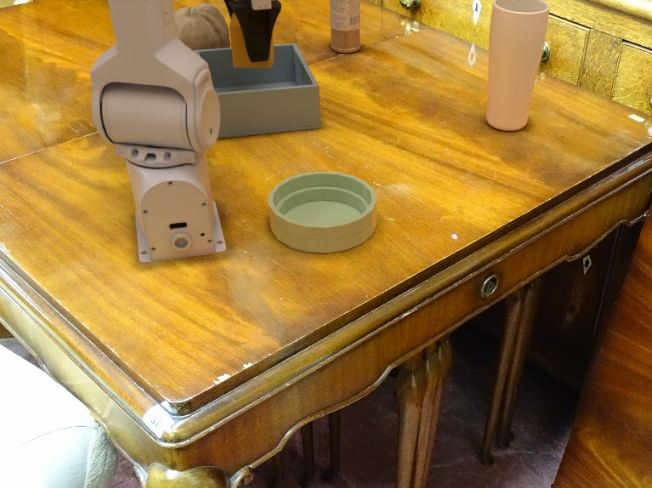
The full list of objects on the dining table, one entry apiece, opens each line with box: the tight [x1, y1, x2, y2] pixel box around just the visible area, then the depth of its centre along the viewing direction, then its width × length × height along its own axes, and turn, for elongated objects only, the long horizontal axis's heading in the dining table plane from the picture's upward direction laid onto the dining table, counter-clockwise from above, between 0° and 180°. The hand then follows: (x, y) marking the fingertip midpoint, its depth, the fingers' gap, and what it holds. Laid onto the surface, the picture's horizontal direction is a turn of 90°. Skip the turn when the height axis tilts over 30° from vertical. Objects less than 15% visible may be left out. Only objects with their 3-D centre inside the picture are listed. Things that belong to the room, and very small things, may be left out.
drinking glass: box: [485, 0, 550, 132], centre depth 95 cm, size 7×7×15 cm
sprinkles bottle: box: [329, 0, 362, 54], centre depth 112 cm, size 5×5×13 cm
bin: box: [194, 42, 322, 140], centre depth 97 cm, size 14×13×6 cm
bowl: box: [267, 170, 378, 254], centre depth 78 cm, size 11×11×4 cm
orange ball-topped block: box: [228, 13, 275, 68], centre depth 92 cm, size 5×5×8 cm
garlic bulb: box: [174, 2, 231, 51], centre depth 105 cm, size 9×8×10 cm
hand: (252, 51), depth 94 cm, fingers closed on orange ball-topped block, 5 cm apart
